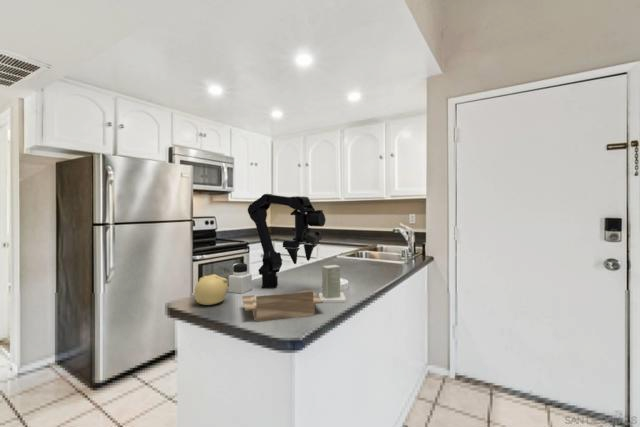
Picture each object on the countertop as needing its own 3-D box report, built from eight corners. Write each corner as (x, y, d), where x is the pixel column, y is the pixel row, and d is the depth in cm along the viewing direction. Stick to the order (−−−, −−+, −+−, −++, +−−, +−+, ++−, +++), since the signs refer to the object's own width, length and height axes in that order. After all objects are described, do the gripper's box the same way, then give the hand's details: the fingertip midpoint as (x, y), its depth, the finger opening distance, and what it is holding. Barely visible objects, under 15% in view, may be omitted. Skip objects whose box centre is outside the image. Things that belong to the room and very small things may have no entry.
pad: (320, 302, 121) (320, 300, 121) (318, 295, 131) (318, 292, 131) (346, 302, 122) (345, 299, 122) (342, 294, 132) (342, 292, 132)
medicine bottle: (252, 289, 140) (251, 262, 140) (241, 293, 134) (241, 265, 134) (239, 288, 143) (238, 261, 143) (228, 292, 137) (228, 264, 137)
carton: (242, 306, 117) (242, 285, 117) (311, 300, 125) (311, 280, 124) (245, 322, 102) (245, 297, 101) (323, 313, 109) (323, 290, 109)
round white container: (317, 289, 142) (316, 281, 142) (330, 283, 152) (330, 275, 152) (340, 293, 136) (340, 284, 135) (353, 286, 146) (353, 279, 146)
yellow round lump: (231, 298, 127) (231, 272, 127) (217, 308, 116) (217, 279, 115) (205, 297, 129) (204, 271, 129) (188, 307, 117) (188, 278, 117)
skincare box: (336, 293, 130) (336, 264, 129) (340, 296, 126) (340, 266, 125) (322, 295, 128) (321, 265, 127) (325, 298, 123) (325, 267, 123)
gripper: (303, 228, 123) (303, 267, 123) (329, 225, 138) (329, 260, 139) (281, 226, 129) (282, 265, 130) (308, 224, 145) (308, 258, 145)
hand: (301, 262), depth 136 cm, fingers open, 9 cm apart
